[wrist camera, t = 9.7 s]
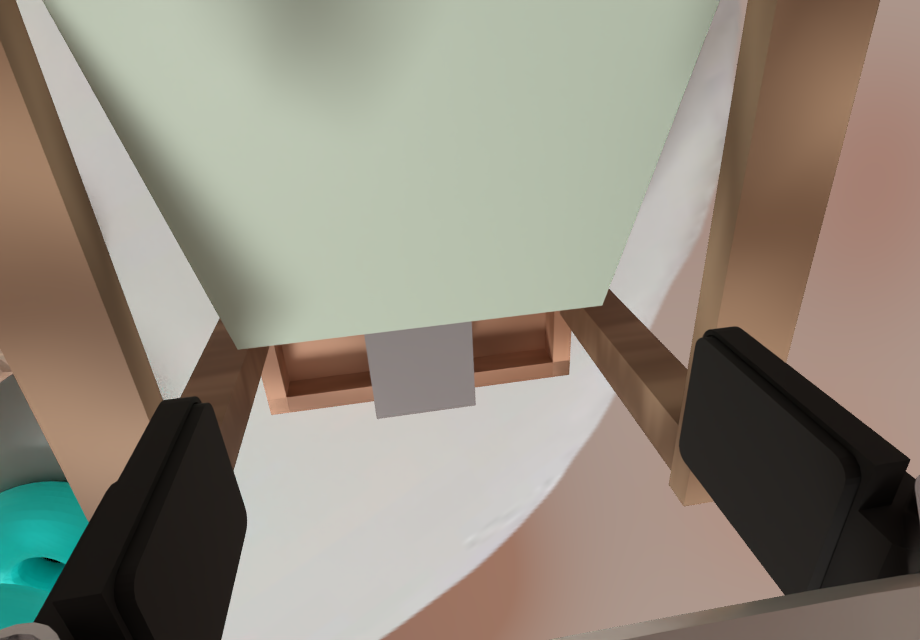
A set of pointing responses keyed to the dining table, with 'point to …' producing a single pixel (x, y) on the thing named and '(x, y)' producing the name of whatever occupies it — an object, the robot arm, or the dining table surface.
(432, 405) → the grey squarish block
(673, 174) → the dining table surface
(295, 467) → the dining table surface
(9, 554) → the donuts
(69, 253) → the frame
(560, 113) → the trapdoor
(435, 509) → the dining table surface
